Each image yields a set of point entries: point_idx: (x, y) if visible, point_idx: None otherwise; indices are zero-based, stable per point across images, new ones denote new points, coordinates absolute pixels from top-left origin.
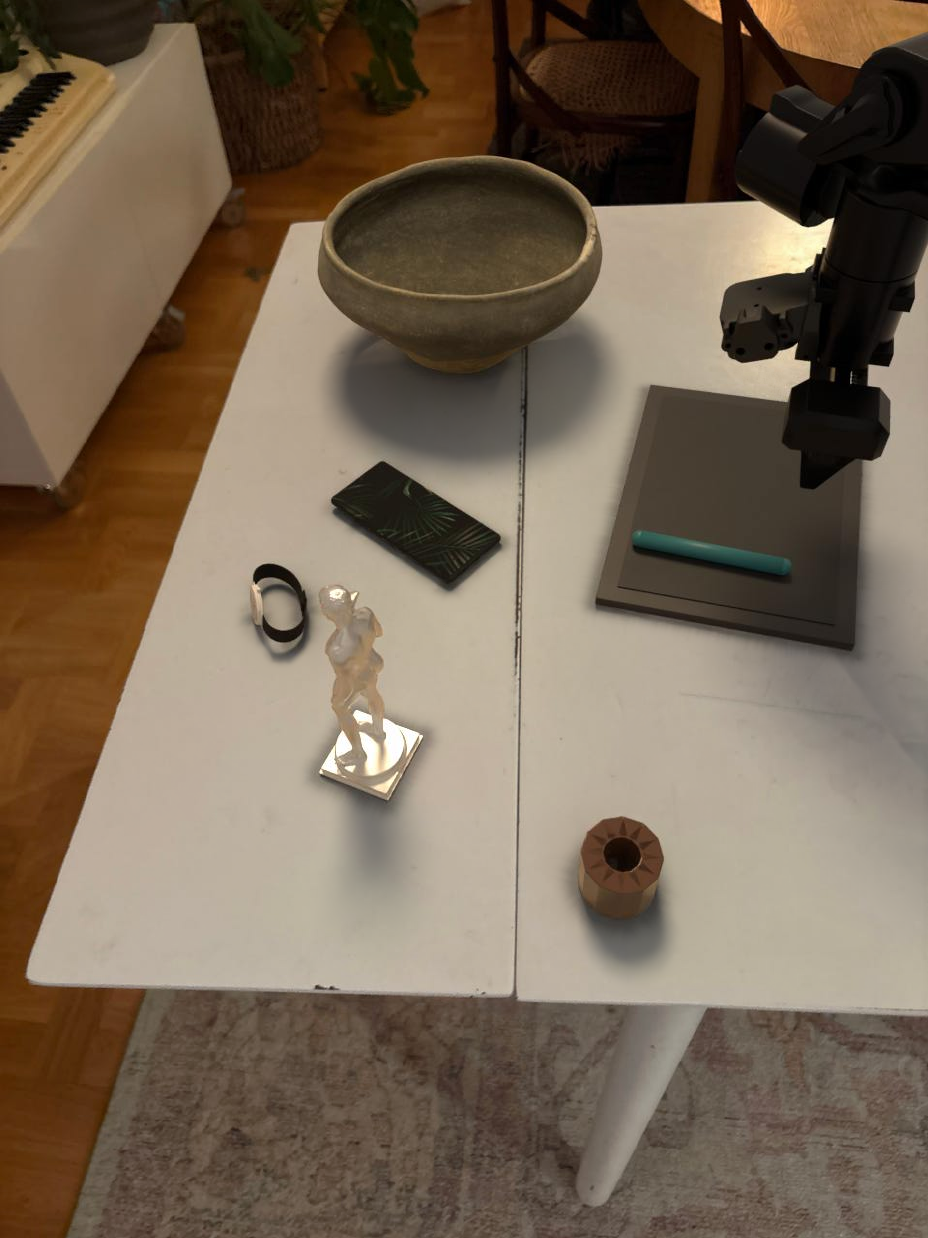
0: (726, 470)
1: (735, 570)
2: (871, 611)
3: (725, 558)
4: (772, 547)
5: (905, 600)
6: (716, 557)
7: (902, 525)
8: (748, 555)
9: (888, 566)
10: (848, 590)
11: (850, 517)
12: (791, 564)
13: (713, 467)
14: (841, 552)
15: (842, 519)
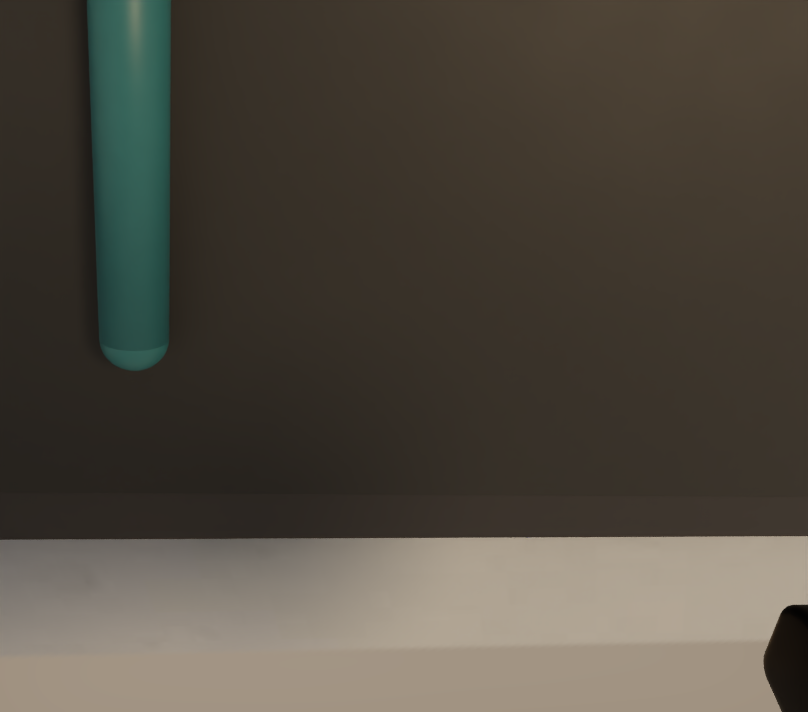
0: (661, 111)
1: None
2: (105, 558)
3: (91, 115)
4: (258, 296)
5: (174, 628)
6: (89, 74)
7: (455, 616)
8: (117, 214)
9: (293, 591)
10: (126, 520)
11: (445, 516)
12: (138, 370)
13: (679, 54)
14: (289, 498)
15: (436, 496)
